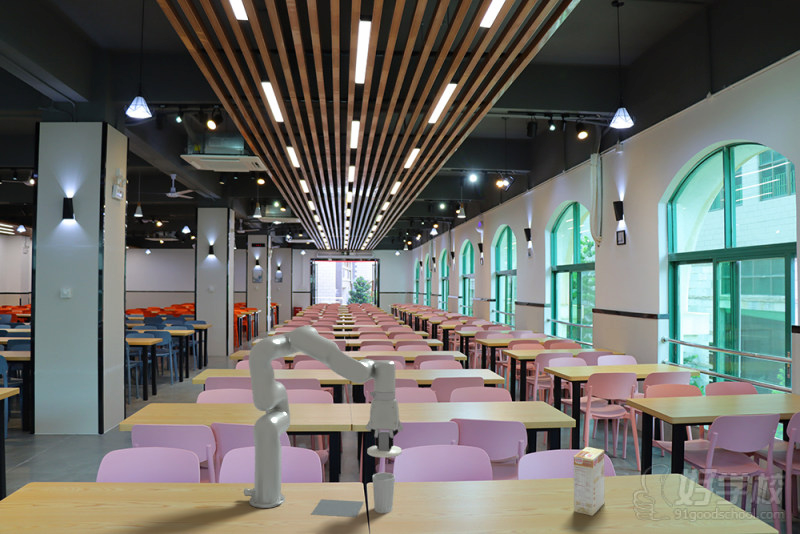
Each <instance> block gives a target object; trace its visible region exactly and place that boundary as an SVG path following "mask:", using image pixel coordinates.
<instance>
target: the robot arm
mask: <svg viewBox="0 0 800 534" xmlns="http://www.w3.org/2000/svg"><path fill="white" fill-rule="evenodd" d="M300 352H301V353H302V354H304V355H306V356H307V357H310V358H312V359H314V360H316V361H318V362H320V363H322V364H323V365H325V366H326V367H327V368H328V369H330V370H331V371H332V372H334V373H335V374H337V375H339V376H340V377H342V378H344V379H346V380H348V381H350V382H353V383H355V384H364V383H366V382H367V381H369V380H373V383H374V385H373V391H371V392H369V396H370V397H372V398H373V399H371V402H370V411H369V420H368V423H367V424H366V426H365V430H367V431H369V432H371V434H372V435H373V436H374V438H375V441H374V442H375V443H374V444H375V445H374V446H377V449H379V432H380V431H387V430H388V431H389V432H390V436H389V450H391V448H392V447H393V446H394V437H395V436H397V434H398V433H400V432H402V431H403V430H404V426H403V424H402V423H401V421H400V412H399V411H400V410H399V403H398V399H396V363H395V361H393V360H387V359H386V360H381V359H380V360H378V359H377V360H376V359H371V358H370V359H369V358H362V359H360V360H357V359H355V358H353V357H351V356H349V355H348V354H346V353H344V352H343V351H342V350H341V349H340V348H339V345H338V344H337V343H336V342H335V341H334V340H331V339H329V338H327V337H325V336H322V334H319V332H318V330H317V329H316V328H315V327H314V326H311V325H303V326H299V327H296V328H294V329H293V330H291V331H288V332H284V333H280V334H278V335H272V336H267V337H265V338H262V339H260V340H259V341H257V342H256V343H255V344H254V345H253V346H252V348H251V349H250V352H249V354H248V365H249V366H248V367H249V375H250V383H251V392H252V400H253V405H254V407H255V408H256V409H257V410H258V411H262V412H265V414H263V415H261V416H260V417H258V418H257V420H256V421H255V423H254V425H253V428H252V434H253V443H254V486H253V487H252V488H244V490H243V494H244V497H248V496H249V497H250V499H249V505H250V506H253V507H254V508H260V509H268V508H269V509H270V508H274V507H278V506H281V505H282V504H284V503H285V502H286V496H285V495H284V494H282V444H281V438H280V437H281V436H282V435H283V434H284V433H285V432H287V431H288V429H289V427H290V425H291V413H290V403H289V398H288V392H287V389H286V386H285V385H284V384H283V383H281V382H280V381H277V380H276V377H275V370H274V367H273V365H272V362H273V361H274V360H277V359H278V360H279V359H281V358H283V357H284V358H285V357H287V356H289V355H293V354H295V353H300Z"/></svg>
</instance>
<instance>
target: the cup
mask: <svg viewBox="0 0 800 534" xmlns="http://www.w3.org/2000/svg"><path fill="white" fill-rule="evenodd" d="M395 481H396V475H395V474H393V473H391V472H377V473H373V475H372V488H373V502H374V503H373V505H374V509H373V510H374V511H375V512H376V513H380V514H387V513H390V512H392V511H393V503H394V492H395V483H396V482H395Z"/></svg>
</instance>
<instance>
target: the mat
mask: <svg viewBox="0 0 800 534" xmlns="http://www.w3.org/2000/svg"><path fill="white" fill-rule="evenodd" d="M364 503H365V502H364V501H355V500H339V499H322V498H321V499H320V500H319V502H318V503H317V504H316V506H315V508H314V509H313V511H311V513H310V515H311V516H312V515H313V516H328V517H329V516H330V517H348V518H357V517H358V515H359V513H360V511H361V509H362V508H363V505H364Z"/></svg>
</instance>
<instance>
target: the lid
mask: <svg viewBox="0 0 800 534" xmlns="http://www.w3.org/2000/svg"><path fill="white" fill-rule="evenodd" d="M389 436H390V432H389V430H388V431H387V430H380V431H379V449H377V446H376V445H372V446H370V447H368V448H367V451H366V452H367V454H368V455H369V456H371V457H374V458H384V459H385V458H387V459H388V458H394V457H397V456H400V455H401V454H402V448H401V447H399V446H396V445H393V447H392V448H391V450H389Z"/></svg>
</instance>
